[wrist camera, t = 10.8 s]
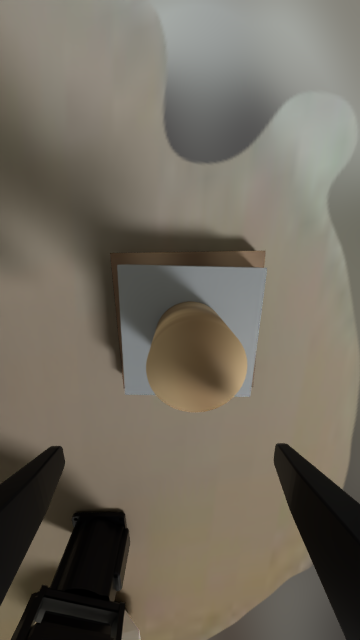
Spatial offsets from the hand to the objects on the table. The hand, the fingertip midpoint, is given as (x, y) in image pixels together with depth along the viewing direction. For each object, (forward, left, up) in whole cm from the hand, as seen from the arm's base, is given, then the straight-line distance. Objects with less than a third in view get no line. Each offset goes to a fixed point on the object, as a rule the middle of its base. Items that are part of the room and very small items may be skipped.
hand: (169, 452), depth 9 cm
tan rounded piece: (+1, +3, -7) cm, 8 cm away
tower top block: (+1, +2, -10) cm, 10 cm away
